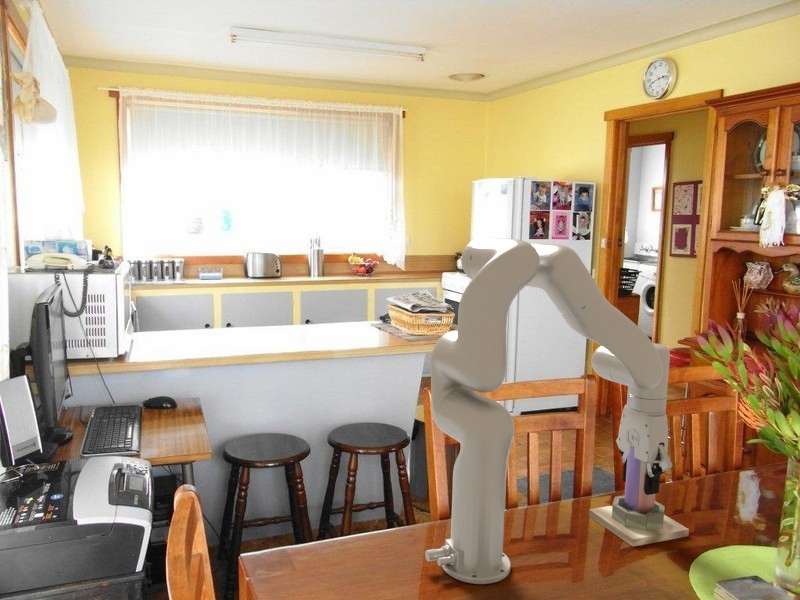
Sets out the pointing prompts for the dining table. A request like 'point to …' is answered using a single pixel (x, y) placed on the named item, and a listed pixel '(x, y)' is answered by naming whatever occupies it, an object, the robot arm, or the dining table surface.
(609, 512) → the can holder
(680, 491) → the dining table surface
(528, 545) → the dining table surface
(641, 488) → the beverage can
